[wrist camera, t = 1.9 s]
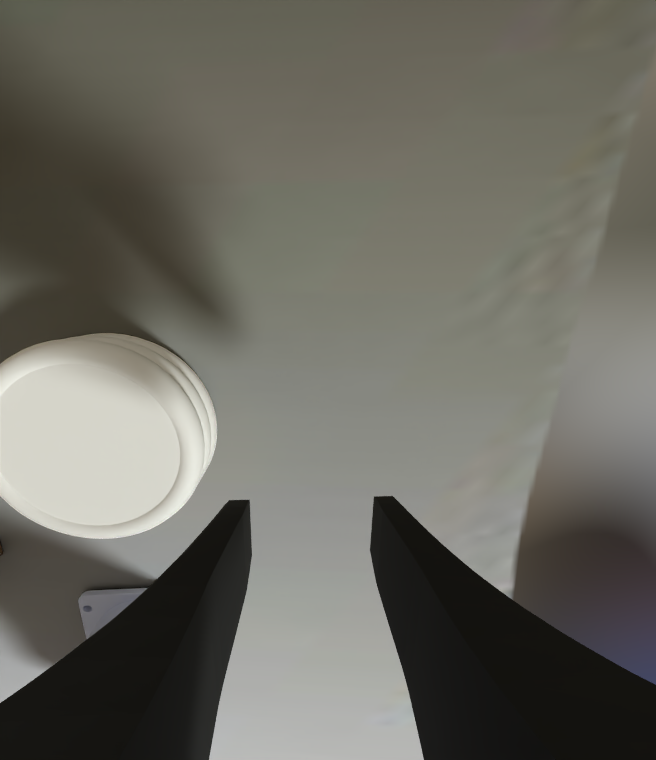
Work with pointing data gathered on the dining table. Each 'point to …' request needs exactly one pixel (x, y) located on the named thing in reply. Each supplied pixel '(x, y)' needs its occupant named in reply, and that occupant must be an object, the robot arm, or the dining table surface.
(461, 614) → the robot arm
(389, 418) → the dining table surface
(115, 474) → the white round dish
